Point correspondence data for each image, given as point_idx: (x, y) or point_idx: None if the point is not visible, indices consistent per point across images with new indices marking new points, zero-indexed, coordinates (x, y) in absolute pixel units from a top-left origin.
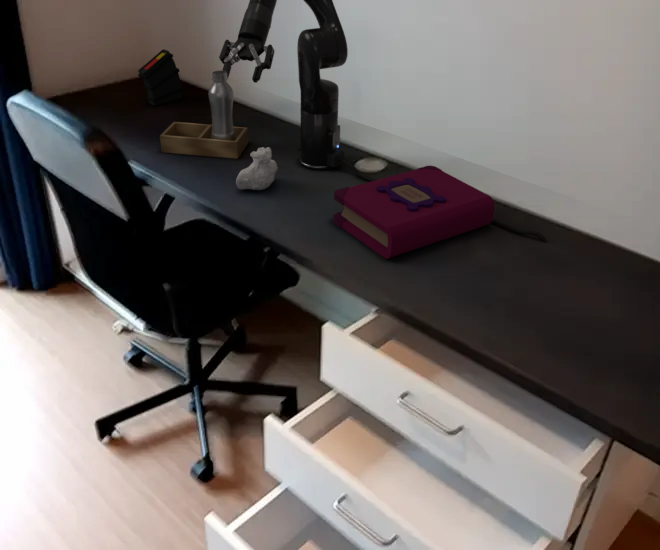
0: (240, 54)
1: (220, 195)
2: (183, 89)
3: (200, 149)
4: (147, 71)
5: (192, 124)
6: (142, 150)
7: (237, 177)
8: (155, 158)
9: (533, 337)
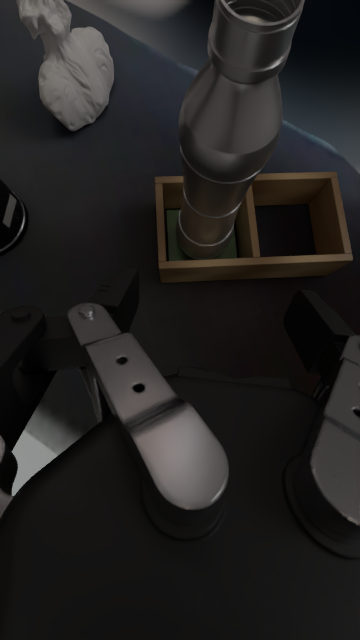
0: (286, 388)
1: (139, 69)
2: None
3: None
4: None
5: (301, 256)
6: (351, 198)
7: (104, 41)
8: (308, 171)
9: None
